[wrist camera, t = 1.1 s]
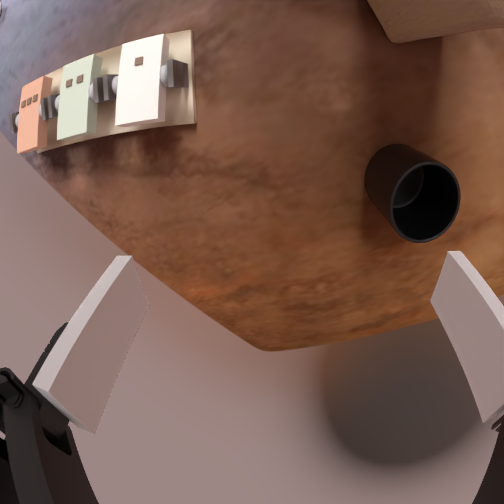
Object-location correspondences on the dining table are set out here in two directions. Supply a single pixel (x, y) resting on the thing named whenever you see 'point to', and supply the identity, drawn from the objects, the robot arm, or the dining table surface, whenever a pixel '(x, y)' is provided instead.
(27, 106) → the key three
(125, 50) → the key one
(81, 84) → the key two
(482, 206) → the dining table surface
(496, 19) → the wooden block
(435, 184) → the mug
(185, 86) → the pastel toggle block board
